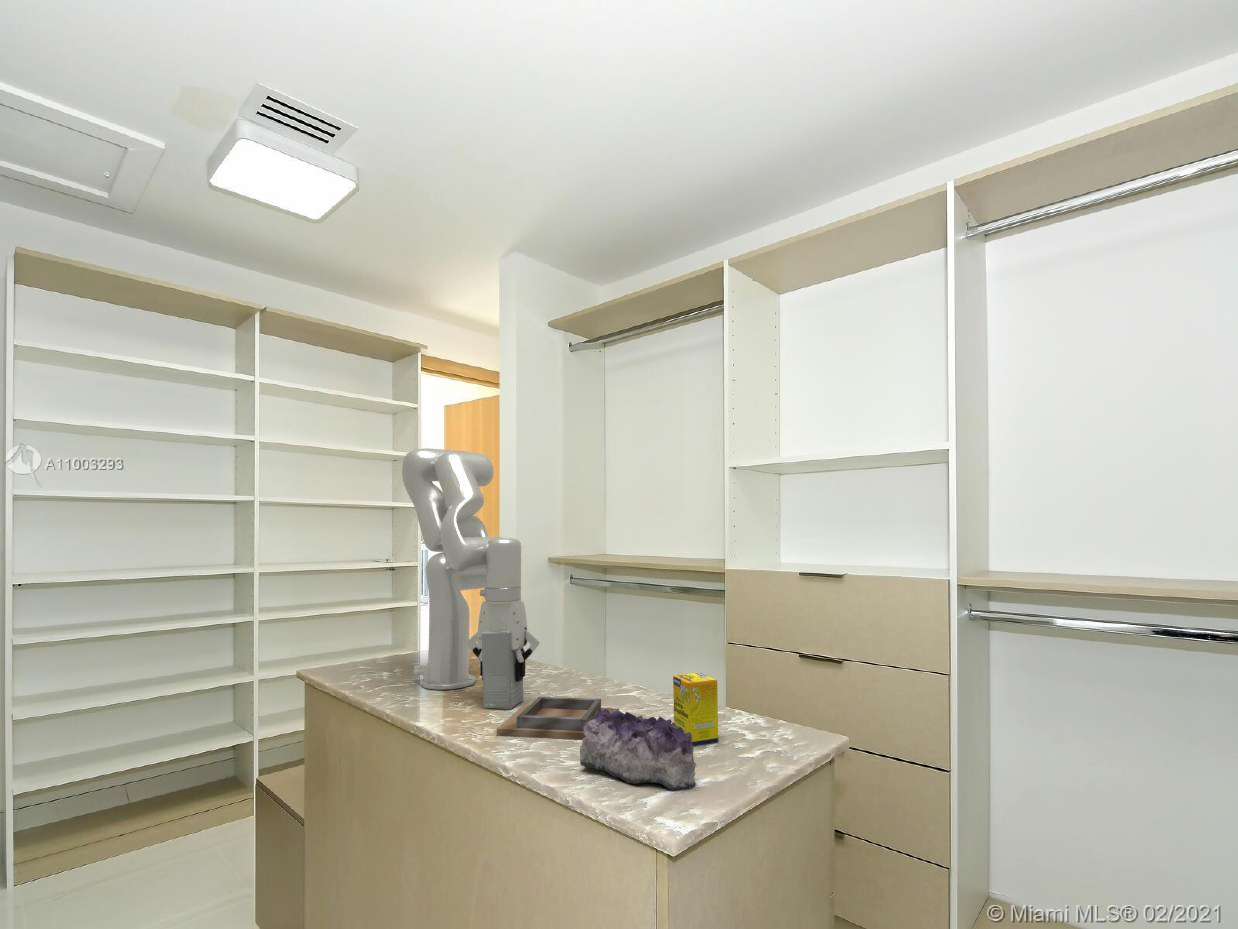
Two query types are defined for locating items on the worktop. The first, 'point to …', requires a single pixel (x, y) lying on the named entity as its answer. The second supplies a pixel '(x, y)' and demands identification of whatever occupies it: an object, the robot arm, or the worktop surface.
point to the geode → (639, 749)
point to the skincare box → (499, 671)
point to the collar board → (552, 718)
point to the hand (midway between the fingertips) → (502, 679)
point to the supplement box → (696, 707)
